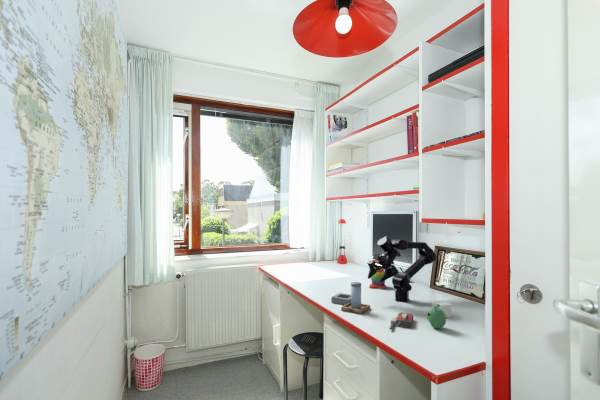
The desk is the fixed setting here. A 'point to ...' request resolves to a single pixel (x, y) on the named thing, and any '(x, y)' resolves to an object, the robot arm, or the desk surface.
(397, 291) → the robot arm
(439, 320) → the alien toy
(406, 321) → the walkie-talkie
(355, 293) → the ball
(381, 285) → the stacking bear
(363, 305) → the tray
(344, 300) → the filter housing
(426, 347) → the desk surface
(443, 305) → the pale pink cube
